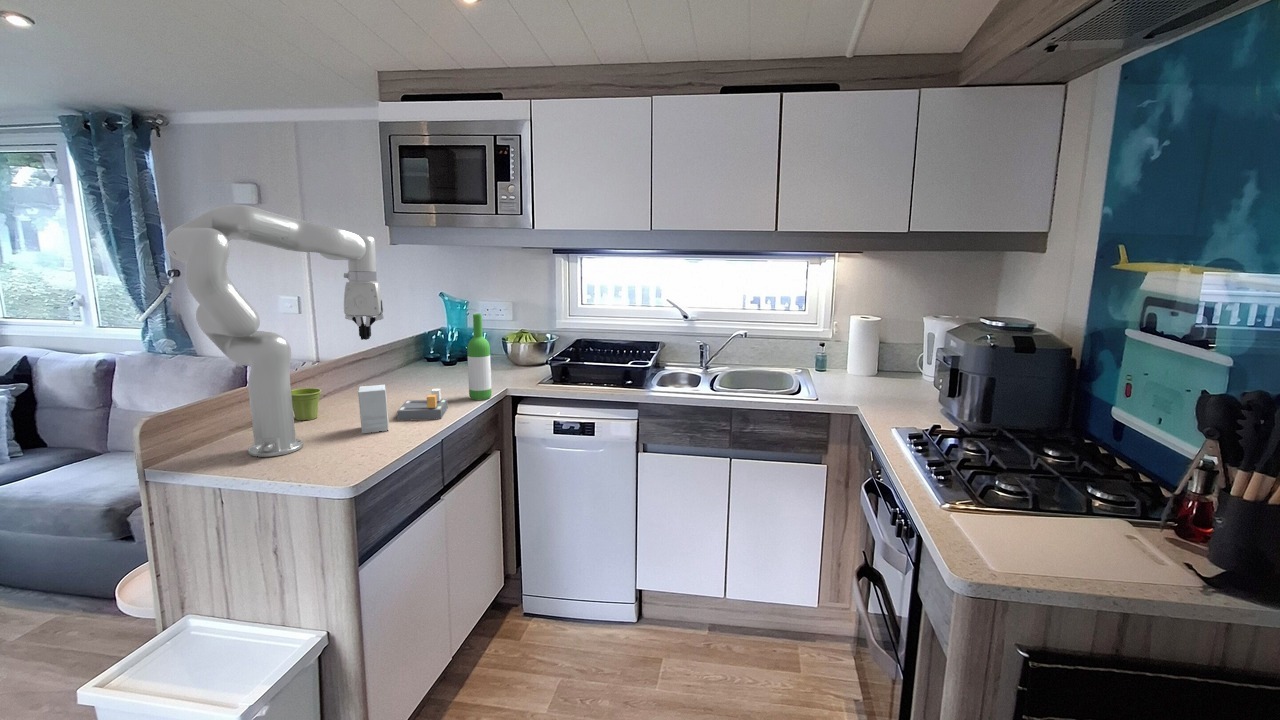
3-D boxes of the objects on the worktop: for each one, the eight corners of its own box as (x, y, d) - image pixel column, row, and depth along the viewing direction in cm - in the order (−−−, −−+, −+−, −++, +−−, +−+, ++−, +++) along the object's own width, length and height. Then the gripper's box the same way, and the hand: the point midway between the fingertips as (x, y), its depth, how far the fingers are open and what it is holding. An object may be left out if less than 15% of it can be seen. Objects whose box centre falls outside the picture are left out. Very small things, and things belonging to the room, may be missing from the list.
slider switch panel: (441, 419, 195) (440, 409, 194) (397, 420, 193) (397, 410, 192) (447, 408, 207) (447, 399, 207) (407, 409, 206) (406, 400, 205)
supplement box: (388, 424, 189) (386, 384, 186) (388, 431, 182) (385, 389, 180) (362, 426, 186) (359, 385, 184) (361, 434, 179) (357, 391, 177)
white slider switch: (439, 401, 203) (438, 390, 202) (431, 401, 202) (431, 390, 202) (441, 398, 205) (440, 388, 205) (433, 399, 205) (432, 388, 204)
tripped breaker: (435, 407, 195) (434, 396, 194) (427, 407, 194) (426, 397, 194) (436, 405, 198) (436, 394, 197) (429, 405, 197) (428, 394, 197)
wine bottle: (469, 401, 216) (466, 315, 210) (468, 396, 223) (465, 313, 218) (492, 399, 219) (489, 315, 213) (490, 394, 226) (487, 312, 220)
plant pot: (307, 412, 200) (304, 386, 198) (330, 415, 197) (328, 389, 195) (282, 420, 191) (279, 393, 190) (306, 423, 188) (303, 396, 187)
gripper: (331, 277, 179) (334, 340, 182) (385, 278, 181) (387, 341, 184) (340, 276, 187) (343, 337, 189) (392, 278, 188) (394, 338, 191)
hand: (365, 339), depth 187 cm, fingers closed
